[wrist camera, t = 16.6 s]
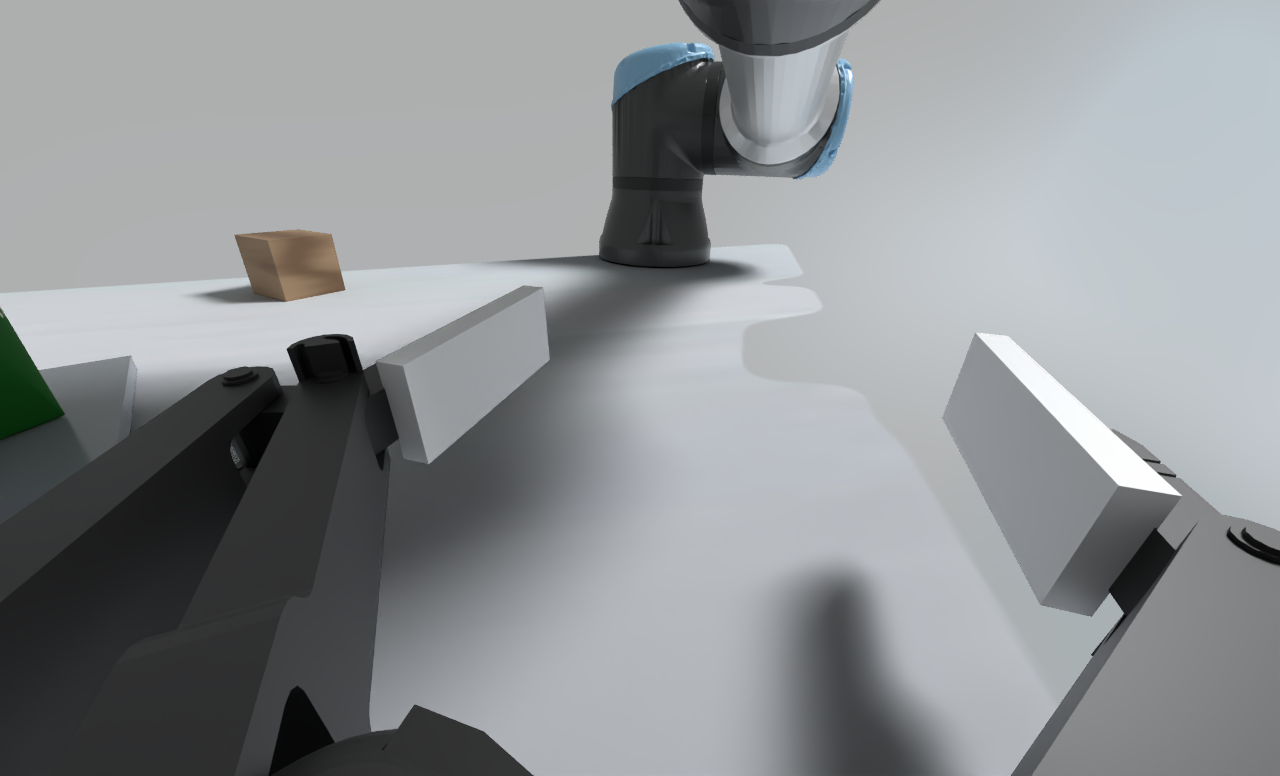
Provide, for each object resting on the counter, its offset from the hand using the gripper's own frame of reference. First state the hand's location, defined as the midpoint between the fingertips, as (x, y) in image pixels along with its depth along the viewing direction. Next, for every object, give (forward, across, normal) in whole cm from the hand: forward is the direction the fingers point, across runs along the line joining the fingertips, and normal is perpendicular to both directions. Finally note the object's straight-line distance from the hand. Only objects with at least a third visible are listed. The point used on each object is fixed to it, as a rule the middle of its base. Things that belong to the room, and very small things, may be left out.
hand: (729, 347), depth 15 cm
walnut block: (+16, -40, -7) cm, 43 cm away
